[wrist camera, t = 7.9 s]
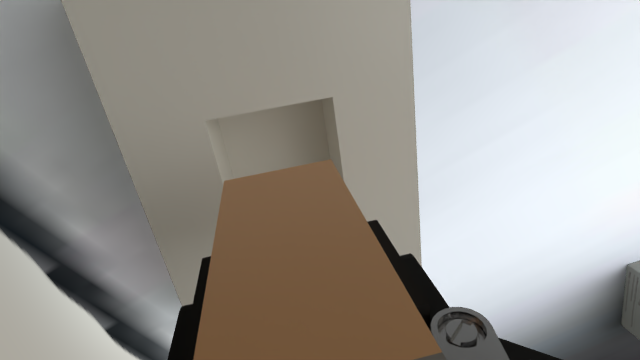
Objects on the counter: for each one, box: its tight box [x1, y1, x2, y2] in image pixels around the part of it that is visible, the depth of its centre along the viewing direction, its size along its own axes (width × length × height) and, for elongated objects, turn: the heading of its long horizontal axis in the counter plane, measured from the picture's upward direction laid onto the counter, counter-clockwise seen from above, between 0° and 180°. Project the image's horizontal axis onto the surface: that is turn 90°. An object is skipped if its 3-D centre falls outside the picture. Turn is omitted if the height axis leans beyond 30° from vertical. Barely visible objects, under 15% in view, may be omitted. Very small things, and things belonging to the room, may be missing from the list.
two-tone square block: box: [193, 159, 447, 360], centre depth 10 cm, size 5×4×10 cm
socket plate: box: [61, 0, 422, 306], centre depth 21 cm, size 20×14×6 cm
